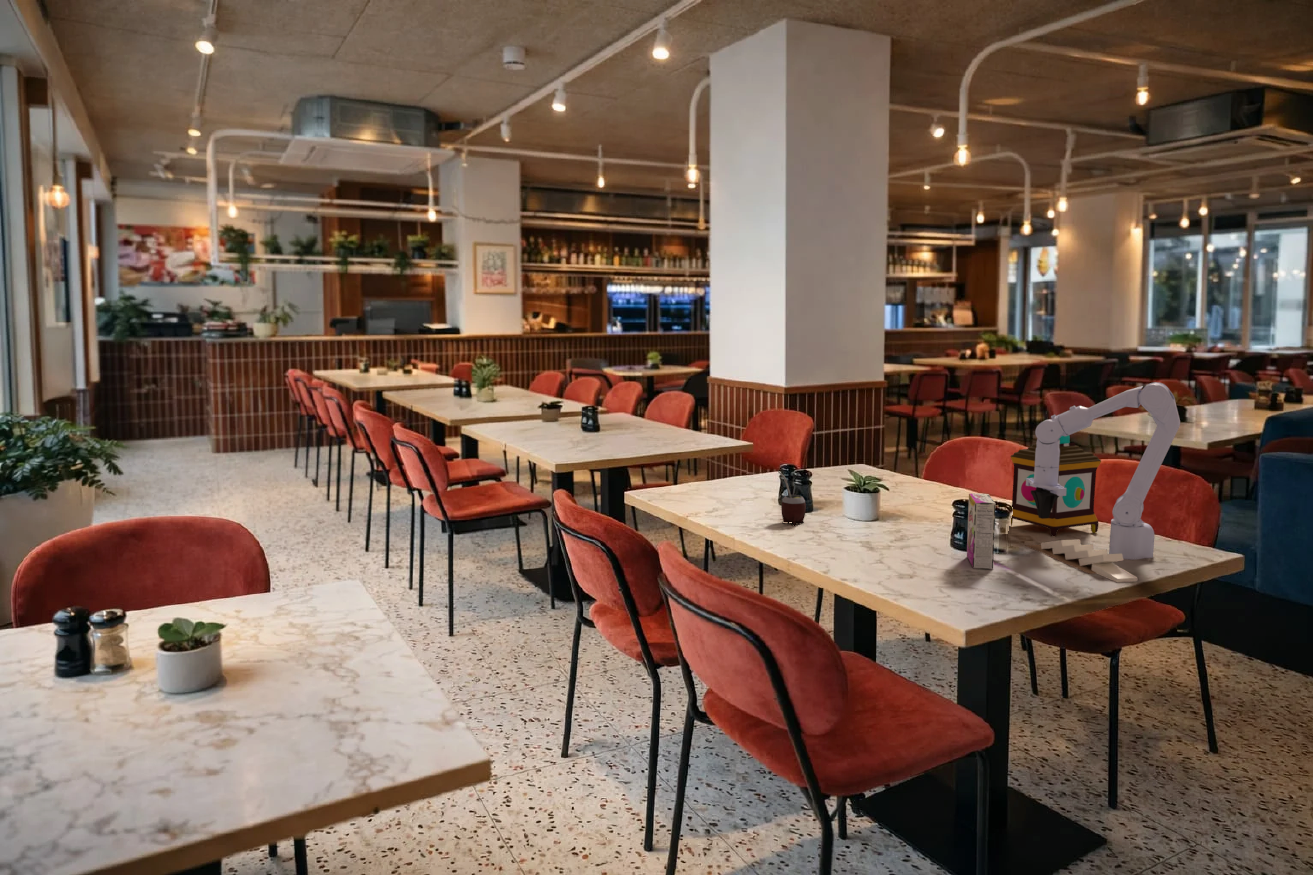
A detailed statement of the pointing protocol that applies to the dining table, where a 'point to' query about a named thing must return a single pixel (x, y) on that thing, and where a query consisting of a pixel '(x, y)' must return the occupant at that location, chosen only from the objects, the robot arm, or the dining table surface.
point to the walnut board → (1063, 559)
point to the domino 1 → (1059, 543)
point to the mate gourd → (792, 507)
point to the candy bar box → (981, 531)
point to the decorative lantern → (1073, 476)
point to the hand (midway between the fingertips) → (1043, 517)
